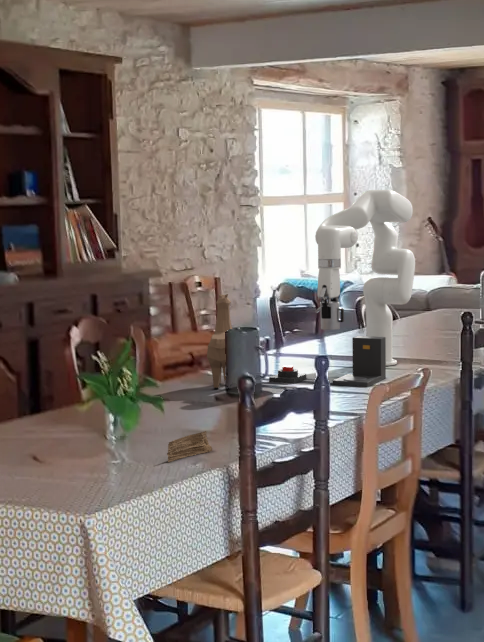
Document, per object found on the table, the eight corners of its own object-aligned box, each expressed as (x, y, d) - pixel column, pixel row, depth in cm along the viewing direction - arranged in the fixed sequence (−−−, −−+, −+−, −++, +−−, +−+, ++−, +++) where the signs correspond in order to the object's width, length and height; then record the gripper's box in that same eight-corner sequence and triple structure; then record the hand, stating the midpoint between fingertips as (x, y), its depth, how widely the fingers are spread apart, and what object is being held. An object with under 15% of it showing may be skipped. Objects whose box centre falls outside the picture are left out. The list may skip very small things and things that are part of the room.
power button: (284, 370, 396) (284, 365, 396) (294, 371, 394) (294, 365, 394) (280, 372, 393) (280, 366, 393) (290, 372, 391) (290, 367, 391)
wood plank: (172, 463, 277) (172, 442, 277) (165, 462, 279) (165, 441, 278) (212, 451, 289) (212, 431, 289) (205, 450, 291) (205, 430, 290)
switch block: (281, 377, 401) (281, 367, 400) (306, 378, 397) (306, 368, 396) (269, 382, 391) (269, 371, 391) (294, 383, 387) (294, 373, 387)
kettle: (318, 327, 399) (318, 300, 398) (346, 328, 395) (346, 301, 394) (312, 329, 394) (311, 302, 393) (340, 330, 389) (340, 303, 388)
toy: (238, 381, 393) (237, 292, 390) (234, 392, 373) (233, 298, 370) (212, 381, 394) (211, 293, 391) (207, 392, 374) (205, 298, 371)
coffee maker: (351, 376, 400) (351, 335, 399) (385, 378, 395) (385, 337, 394) (332, 384, 383) (332, 342, 382) (367, 387, 378) (367, 344, 377)
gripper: (327, 262, 401) (328, 314, 403) (309, 265, 386) (310, 319, 388) (348, 262, 398) (349, 314, 400) (331, 266, 383) (331, 320, 384)
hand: (330, 316), depth 394 cm, fingers closed on kettle, 6 cm apart
